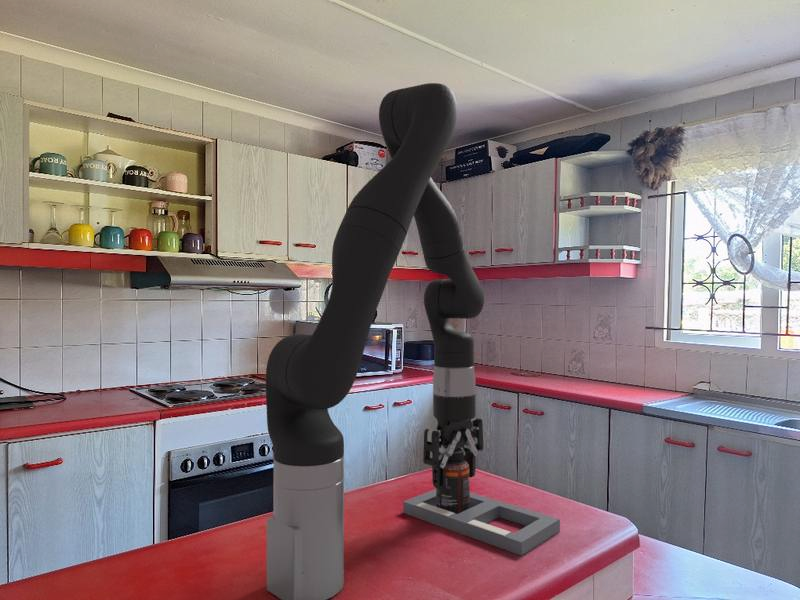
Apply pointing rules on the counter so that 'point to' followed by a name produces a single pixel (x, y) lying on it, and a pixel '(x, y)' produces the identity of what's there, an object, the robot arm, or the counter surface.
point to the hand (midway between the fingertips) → (454, 481)
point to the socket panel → (487, 521)
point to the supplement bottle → (455, 485)
